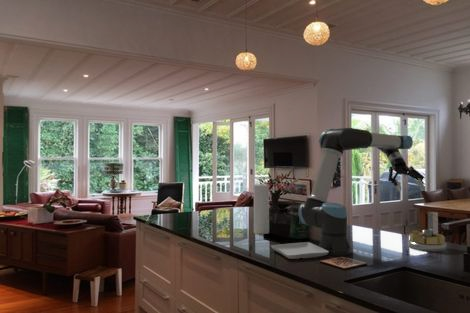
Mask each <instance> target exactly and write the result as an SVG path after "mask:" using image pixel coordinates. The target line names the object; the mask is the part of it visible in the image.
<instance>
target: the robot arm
mask: <svg viewBox="0 0 470 313" xmlns="http://www.w3.org/2000/svg"><path fill="white" fill-rule="evenodd" d="M318 144H319V147H320V148H321V149H320V151H321V153H322V156H321V159H320V161H319V166H318V170H317V172H316V176H315V180H314V184H313V185H312V186H313V187H312V189H311V194H310V195H309V196H308V197H307V198H306V201H305V202H303V203H302V204H300V205H299V206H300V207H299V218H300V220H301V222H302V223H303V224H305V225H306V226H307V227H314V228H318V229H319V228H320V229H321V239H320V242H319V244H318V246H319V247H321V248H323V249H325V250H327V251H329V253H328V254H326V255H325V256H339V257H342V256H348V255H350V254H351V252H352V251H351V250H352V249H351V245H350V242H349V240H348V233H347V232H348V229H347V228H348V213H347V207H346V206H345V205H344V204H341V203H337V202H328V197H329V194H330V191H331V187H332V183H333V179H334V177H335V176H334V175H335V172H336V169H337V165H338V162H339V159H340V158H342V157H343V154H344V151H351V150H357V149H358V150H359V149H360V150H361V149H368V148H376V149H378V150H379V151H380V152H382V153H383V154H385V155H386V157H387V159H388V161H389V163H390V165H391V166H389V168H388V172H389V173H388V182H390V183H391V184H393V186H395V187H396V189H397V191H398V192H401V190H402V186H401V184H400V182H399V180H398V179H397V177H398V175H406V176H408V177H411V178H412V179H414V180H415V181H416V182H417V185H418V187H419V188H420V190H421V191H424V190H425V188H426V186H425V185H424V181H423V179H424V178H425V176H424V175H423V174H421V173H420V172H418V170H417V169H415V168H414V166H412V165H410V166H407V163H406V161H405V159H404V157H403V155H402V154H401V152H400V150H407V149H411V148H413V145H414V141H413V138H412V137H411V136H410V135H397V134H396V135H395V134H387V133H375V132H371V131H369V130H367V129H366V130H365V129H361V128H354V127H344V128H331V129H330V128H329V129H326V130H324V131H323V132H322V133H320V136H319V139H318ZM393 172H395V174H394V176H393Z"/></svg>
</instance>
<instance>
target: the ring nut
mask: <svg viewBox="0 0 470 313" xmlns="http://www.w3.org/2000/svg"><path fill="white" fill-rule="evenodd" d="M438 216H439V212H437V211H436V212H435V211H431V212H427V230H432V237H424V234H422V231H421V232H420V231H419V230H412V232H411V233H409V240H411V241H413V242H417V243H422V244H425V243H426V244H443V243H446V241H445V240H446V237H445V236H444V235H443V234H439V217H438Z"/></svg>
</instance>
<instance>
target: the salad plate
mask: <svg viewBox="0 0 470 313" xmlns="http://www.w3.org/2000/svg"><path fill="white" fill-rule="evenodd" d="M270 246H271V249H273V250H274V251H276V252H277V253H279V254H280V255H282V256H284V257H285V258H287V259H290V260H300V258H303V259H312V258H319V257H324V256H327V255H326V254H328V253H329V251H327V250H325V249H323V248H321V247H319V245H316V244H314V243H312V242H309V241H306V242H305V241H304V242H293V243H290V242H289V243H283V244H271V245H270Z"/></svg>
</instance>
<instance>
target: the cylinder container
mask: <svg viewBox="0 0 470 313" xmlns="http://www.w3.org/2000/svg"><path fill="white" fill-rule="evenodd" d="M253 233H254V234H257V235H258V234H259V235H266V234H267V235H268V234H270V185H269V184H265V183H259V184H253Z"/></svg>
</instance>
